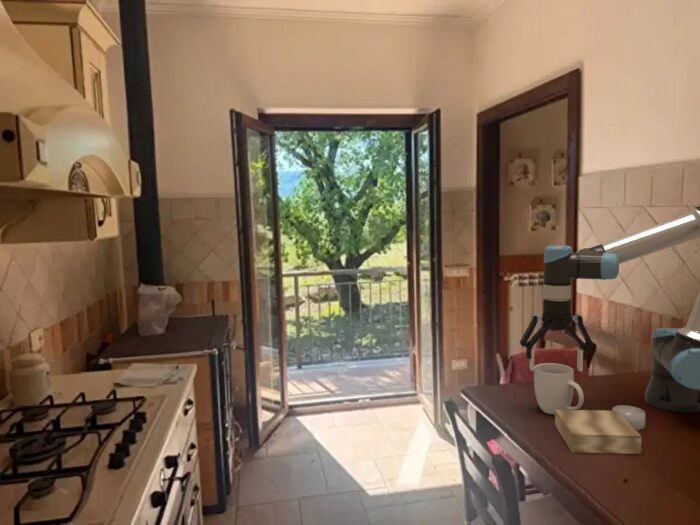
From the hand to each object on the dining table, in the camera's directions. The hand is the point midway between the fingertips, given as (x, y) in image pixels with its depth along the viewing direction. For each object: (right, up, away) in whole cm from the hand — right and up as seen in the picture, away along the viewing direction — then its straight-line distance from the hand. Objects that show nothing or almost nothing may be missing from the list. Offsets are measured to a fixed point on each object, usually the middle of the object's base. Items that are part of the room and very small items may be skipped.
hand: (555, 370), depth 152 cm
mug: (+1, -13, +1) cm, 13 cm away
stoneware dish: (+17, -13, -9) cm, 23 cm away
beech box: (+3, -15, -17) cm, 23 cm away
